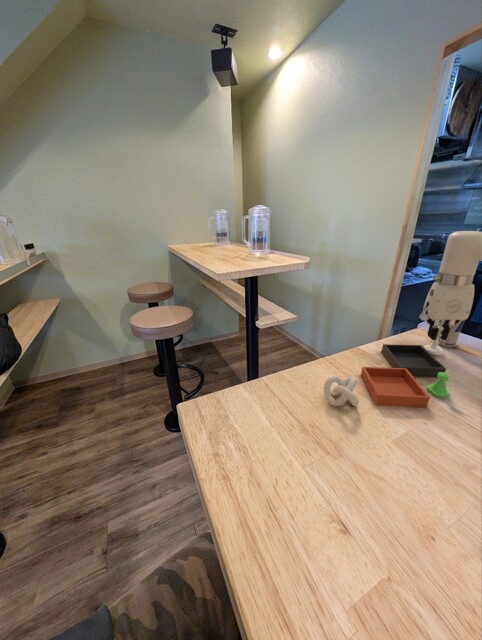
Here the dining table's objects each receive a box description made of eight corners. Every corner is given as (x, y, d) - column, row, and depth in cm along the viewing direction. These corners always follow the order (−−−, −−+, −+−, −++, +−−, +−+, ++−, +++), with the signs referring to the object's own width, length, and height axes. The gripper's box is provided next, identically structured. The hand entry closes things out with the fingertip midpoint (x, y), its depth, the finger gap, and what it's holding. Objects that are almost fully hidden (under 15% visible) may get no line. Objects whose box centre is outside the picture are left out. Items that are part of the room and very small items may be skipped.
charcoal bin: (419, 353, 78) (421, 345, 77) (443, 378, 67) (446, 368, 66) (381, 352, 80) (383, 344, 78) (398, 376, 69) (401, 367, 67)
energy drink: (459, 345, 82) (472, 311, 77) (448, 348, 80) (460, 314, 75) (441, 337, 86) (453, 305, 81) (431, 341, 84) (442, 308, 79)
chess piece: (419, 348, 79) (427, 320, 75) (430, 345, 81) (438, 316, 77) (435, 356, 75) (444, 326, 71) (446, 352, 77) (456, 322, 72)
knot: (367, 406, 59) (371, 386, 57) (341, 418, 56) (345, 398, 54) (342, 387, 65) (346, 368, 63) (318, 397, 62) (321, 378, 60)
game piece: (445, 400, 60) (453, 380, 57) (424, 391, 63) (431, 372, 60) (450, 392, 62) (458, 372, 60) (430, 384, 65) (437, 365, 63)
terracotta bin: (403, 377, 68) (406, 368, 67) (426, 407, 58) (430, 397, 57) (360, 375, 69) (362, 366, 68) (375, 405, 59) (377, 395, 58)
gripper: (430, 283, 66) (414, 344, 74) (498, 282, 64) (474, 344, 72) (415, 276, 73) (402, 332, 81) (476, 274, 71) (457, 332, 79)
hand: (436, 337), depth 76 cm, fingers closed on chess piece
